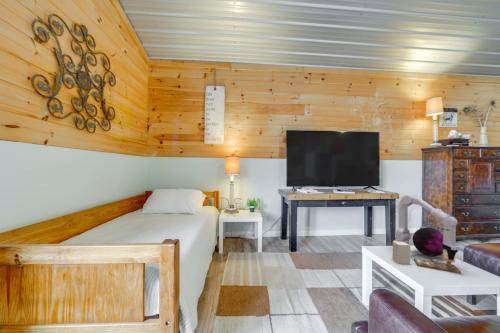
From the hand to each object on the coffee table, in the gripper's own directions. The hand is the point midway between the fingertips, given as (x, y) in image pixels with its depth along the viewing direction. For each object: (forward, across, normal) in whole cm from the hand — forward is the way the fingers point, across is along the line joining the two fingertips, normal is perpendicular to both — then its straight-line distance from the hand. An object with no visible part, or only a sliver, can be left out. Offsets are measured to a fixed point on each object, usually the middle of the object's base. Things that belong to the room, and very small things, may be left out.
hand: (449, 258), depth 137 cm
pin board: (+7, 0, +6) cm, 9 cm away
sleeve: (+1, 0, 0) cm, 1 cm away
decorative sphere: (+7, +22, +4) cm, 23 cm away
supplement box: (+7, -3, +26) cm, 27 cm away
